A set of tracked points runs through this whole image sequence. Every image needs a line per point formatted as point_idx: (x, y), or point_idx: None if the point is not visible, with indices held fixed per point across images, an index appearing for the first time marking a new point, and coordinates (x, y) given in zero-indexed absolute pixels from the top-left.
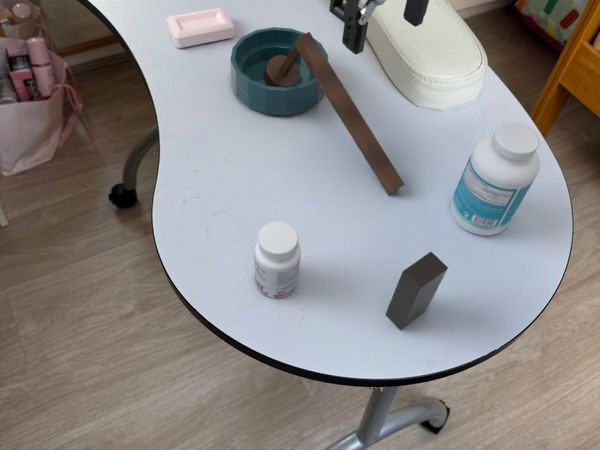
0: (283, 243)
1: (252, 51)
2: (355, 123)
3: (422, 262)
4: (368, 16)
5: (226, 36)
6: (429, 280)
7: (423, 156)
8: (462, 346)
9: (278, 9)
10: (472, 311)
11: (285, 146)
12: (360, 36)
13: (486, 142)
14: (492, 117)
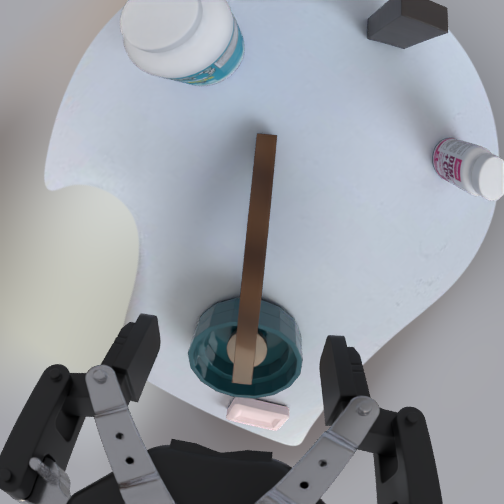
0: (497, 169)
1: None
2: (262, 242)
3: (422, 17)
4: (349, 411)
5: (244, 398)
6: (431, 2)
7: (187, 156)
8: None
9: (174, 391)
10: None
11: (311, 275)
12: (351, 370)
13: (182, 55)
14: (76, 153)
